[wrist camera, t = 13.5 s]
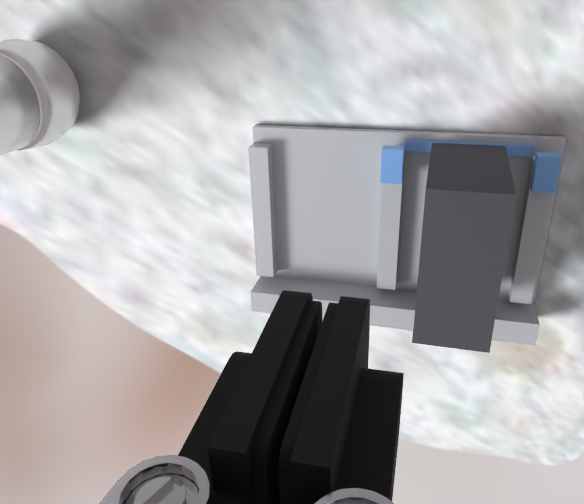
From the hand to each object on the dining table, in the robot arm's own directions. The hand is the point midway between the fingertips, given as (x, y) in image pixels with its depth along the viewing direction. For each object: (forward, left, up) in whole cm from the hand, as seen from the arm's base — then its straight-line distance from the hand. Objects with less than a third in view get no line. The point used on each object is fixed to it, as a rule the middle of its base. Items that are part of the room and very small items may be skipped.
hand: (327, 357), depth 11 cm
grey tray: (+8, -1, -25) cm, 26 cm away
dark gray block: (+7, +3, -24) cm, 25 cm away
